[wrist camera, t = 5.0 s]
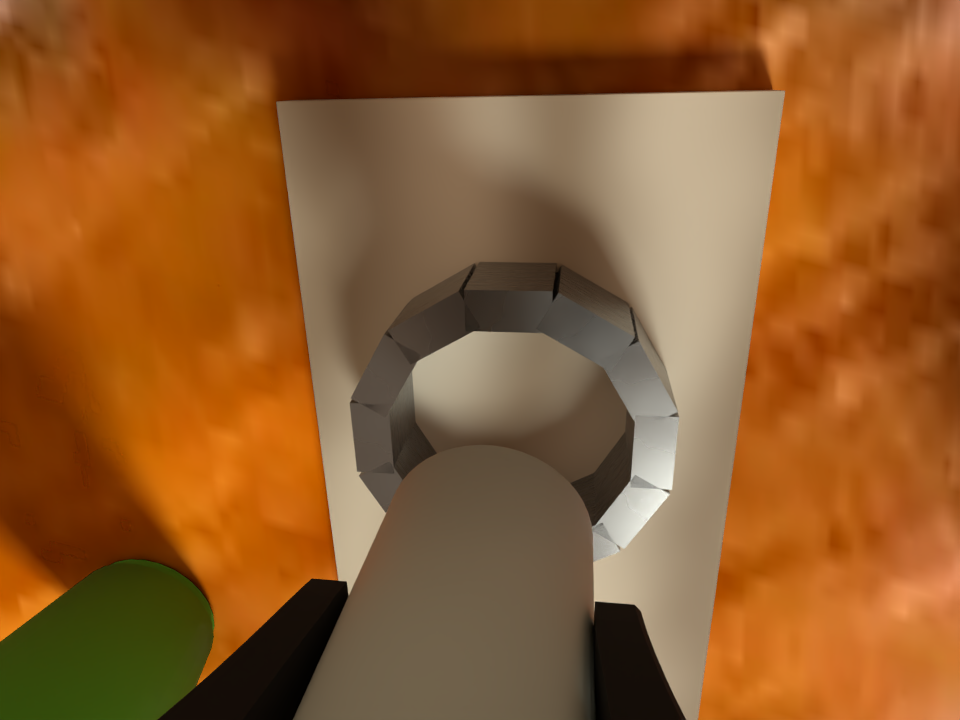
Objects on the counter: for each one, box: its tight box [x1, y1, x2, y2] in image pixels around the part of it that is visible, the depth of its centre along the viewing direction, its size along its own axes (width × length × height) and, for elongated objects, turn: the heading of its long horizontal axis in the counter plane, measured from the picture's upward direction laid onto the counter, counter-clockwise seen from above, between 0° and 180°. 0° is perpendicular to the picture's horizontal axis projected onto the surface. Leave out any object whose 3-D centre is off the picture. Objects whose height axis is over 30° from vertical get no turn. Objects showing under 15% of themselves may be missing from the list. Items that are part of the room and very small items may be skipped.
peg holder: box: [276, 90, 785, 720], centre depth 20 cm, size 12×22×4 cm, turn 1°
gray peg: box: [293, 445, 596, 720], centre depth 10 cm, size 4×4×7 cm
